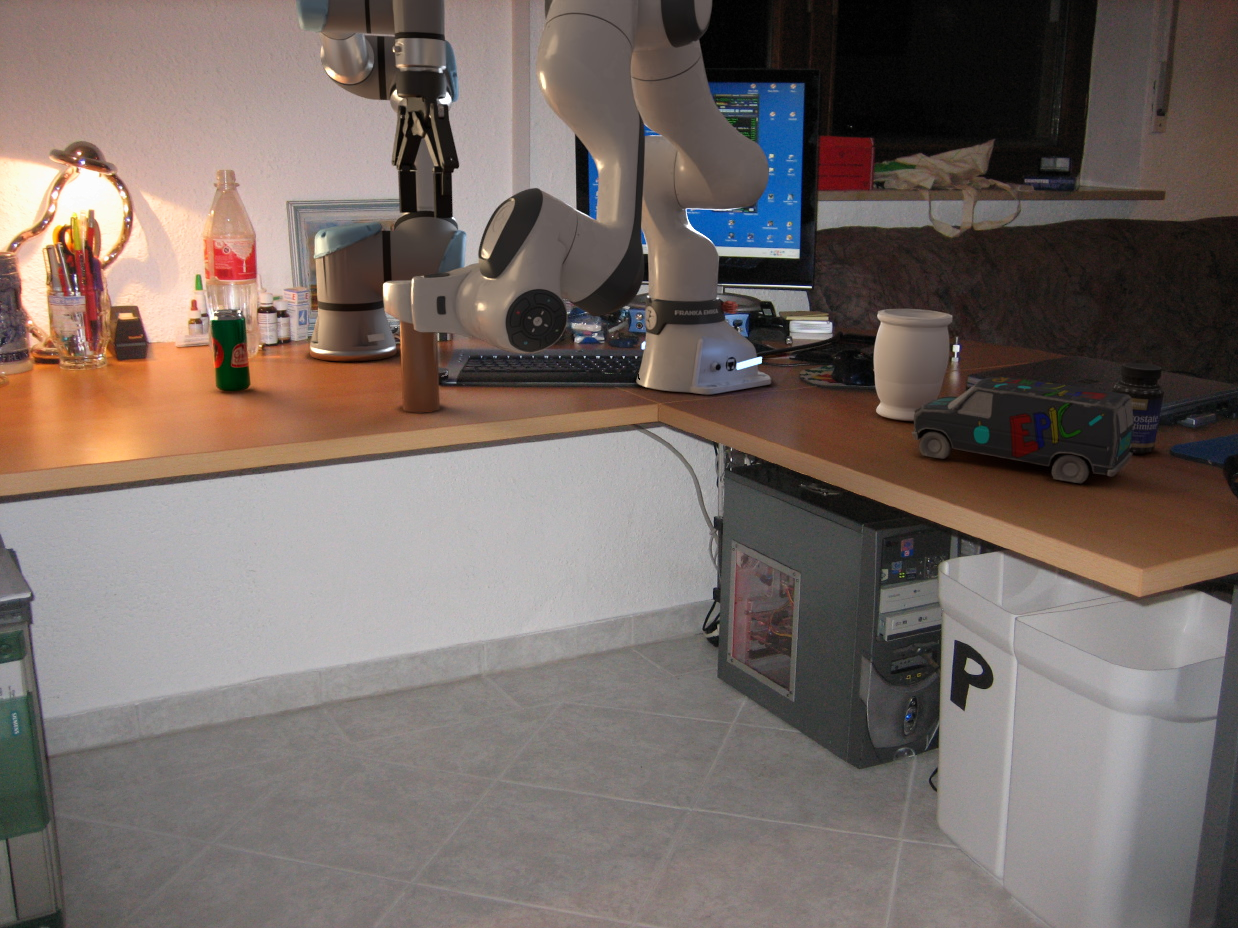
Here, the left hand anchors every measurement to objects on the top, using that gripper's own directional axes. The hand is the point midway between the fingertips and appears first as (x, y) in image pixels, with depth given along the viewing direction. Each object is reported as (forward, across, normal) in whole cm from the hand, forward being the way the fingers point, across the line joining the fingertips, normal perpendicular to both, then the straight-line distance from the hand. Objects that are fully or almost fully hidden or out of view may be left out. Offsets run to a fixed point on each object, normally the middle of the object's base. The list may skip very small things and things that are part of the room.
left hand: (425, 215), depth 167 cm
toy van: (+26, +80, +44) cm, 95 cm away
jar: (+26, +56, +50) cm, 80 cm away
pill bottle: (+26, +84, +62) cm, 108 cm away
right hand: (+7, +30, -10) cm, 33 cm away
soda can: (+26, -7, -30) cm, 40 cm away
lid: (+25, 0, 0) cm, 25 cm away
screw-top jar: (+26, +18, -9) cm, 33 cm away
